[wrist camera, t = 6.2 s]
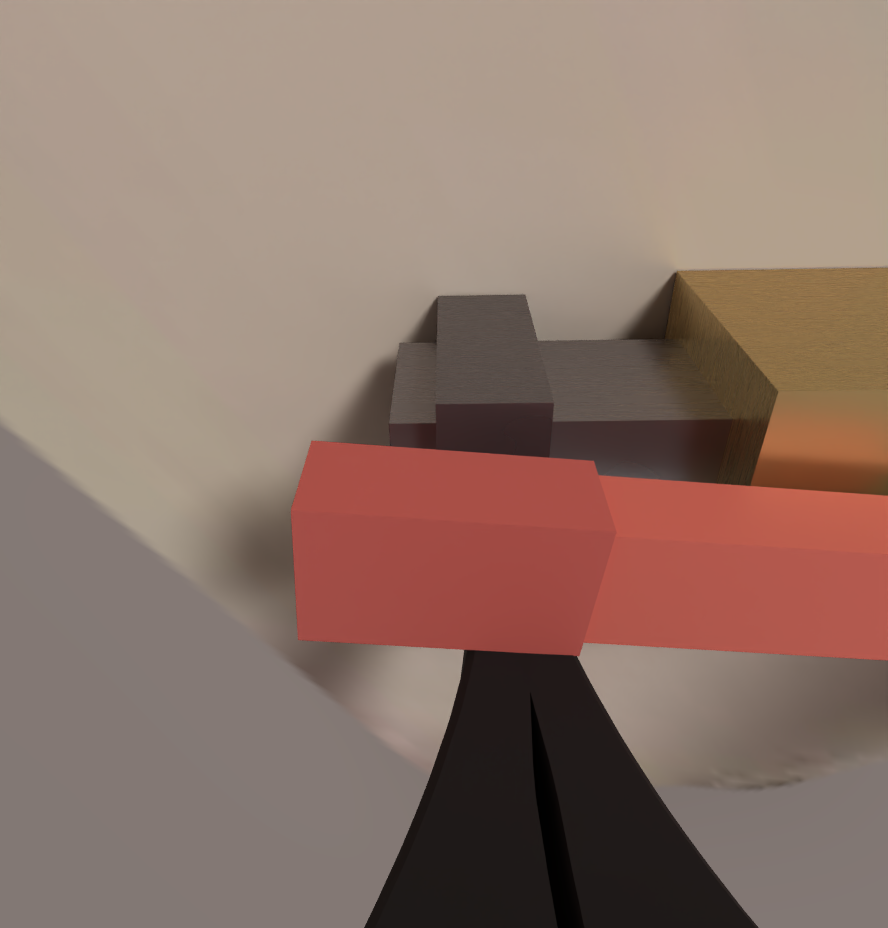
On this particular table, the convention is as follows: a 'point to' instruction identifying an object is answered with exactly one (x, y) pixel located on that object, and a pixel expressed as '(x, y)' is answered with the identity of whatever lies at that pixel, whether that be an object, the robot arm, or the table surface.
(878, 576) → the lever
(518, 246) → the table surface
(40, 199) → the table surface
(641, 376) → the pipe valve
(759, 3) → the table surface
